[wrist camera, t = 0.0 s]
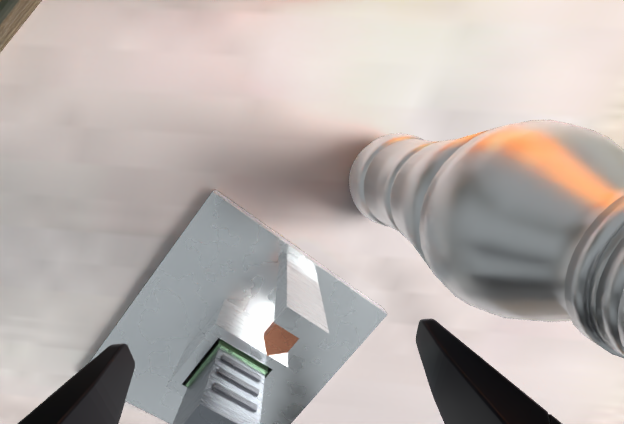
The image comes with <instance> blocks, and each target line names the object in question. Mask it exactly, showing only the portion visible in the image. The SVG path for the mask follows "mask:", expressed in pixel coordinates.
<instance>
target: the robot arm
mask: <svg viewBox="0 0 624 424" xmlns="http://www.w3.org/2000/svg"><path fill="white" fill-rule="evenodd" d="M416 344H417V347H418V350H419V354H420V357H421V360H422V363H423V366H424V370H425V373H426V376H427V379H428V382H429V386H430V389H431V392H432V394H433V397H434V400H435V402H436V404H437V407H438V409H439V411H440V414H441V416H442V419H443V421H444V423H445V424H562V423H561V422H559V421H558V420H557V419H556V418H555V417H553V416H552V415H551V414H549V415H548V412H547V411H546V410H545V409H543V408H542V407H541V406H540V405H538V404H537V403H536V402H535V401H534V400H532V399H531V398H530V397H529V396H527V395H526V394H525V393H524V392H522V391H521V390H520V389H519V388H518V387H516V386H515V385H514V384H513V383H511V382H510V381H509V380H508V379H507V378H505V377H504V376H503V375H502V374H500V373H499V372H498V371H497V370H496V369H494V368H493V367H492V366H491V365H489V364H488V363H487V362H486V361H484V360H483V359H482V358H481V357H480V356H478V355H477V354H476V353H475V352H473V351H472V350H471V349H470V348H469V347H467V346H466V345H465V344H464V343H462V342H461V341H460V340H459V339H458V338H456V337H455V336H454V335H453V334H451V333H450V332H449V331H448V330H446V329H445V328H444V327H443V326H442V325H440V324H439V323H438V322H437V321H435V320H434V319H422V320H420V321H419V325H418V330H417V334H416ZM134 369H135V360H134V358H133V356H132V354H131V351H130V349H129V347H128V345H127V344H125V343H122V344H112V345H110V346H108V347H107V348H106V349H105V350H103V351H102V352H101V353H100V354H99V355H98V356H96V357H95V358H94V359H93V360H92V361H91V362H89V363H88V364H87V365H86V366H85V367H84V368H82V369H81V370H80V371H79V372H78V373H77V374H75V375H74V376H73V377H72V378H71V379H69V380H68V381H67V382H66V383H65V384H64V385H62V386H61V387H60V388H59V389H58V390H57V391H55V392H54V393H53V394H52V395H51V396H50V397H48V398H47V399H46V400H45V401H44V402H42V403H41V404H40V405H39V406H38V407H37V408H35V409H34V410H33V411H32V412H31V413H30V414H28V415H27V416H26V417H25V418H24V419H23V420H21V421H20V422H19V423H18V424H118V423H119V420H120V417H121V413H122V410H123V406H124V403H125V400H126V396H127V393H128V389H129V386H130V383H131V379H132V376H133V372H134Z"/></svg>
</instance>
